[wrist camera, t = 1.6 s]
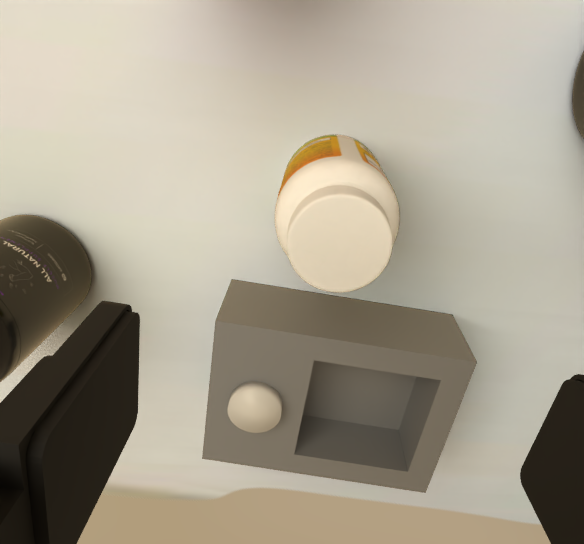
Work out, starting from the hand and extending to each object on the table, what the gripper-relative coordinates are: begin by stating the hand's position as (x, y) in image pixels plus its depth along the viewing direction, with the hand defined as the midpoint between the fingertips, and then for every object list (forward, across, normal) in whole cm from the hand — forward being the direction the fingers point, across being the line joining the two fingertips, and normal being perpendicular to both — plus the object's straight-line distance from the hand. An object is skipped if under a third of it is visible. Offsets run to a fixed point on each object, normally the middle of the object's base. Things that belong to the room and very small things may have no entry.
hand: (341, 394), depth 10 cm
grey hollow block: (+18, -2, +11) cm, 21 cm away
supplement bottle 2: (+18, 0, -1) cm, 18 cm away
